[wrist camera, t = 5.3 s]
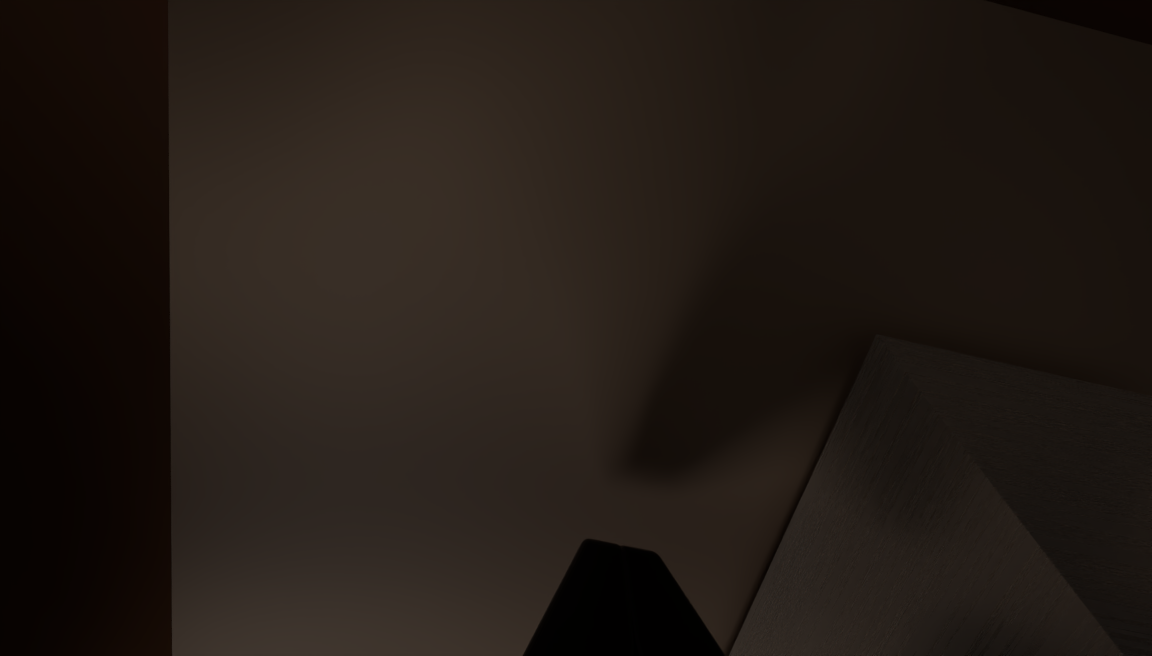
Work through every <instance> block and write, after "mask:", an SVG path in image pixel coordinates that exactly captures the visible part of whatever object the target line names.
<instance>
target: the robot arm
mask: <svg viewBox="0 0 1152 656" xmlns="http://www.w3.org/2000/svg"><path fill="white" fill-rule="evenodd" d="M523 656H726V655H725V654H724V652H723V651H722V649H721V648H720V646H719V645H718V643H717V642H716V640H715V639H714V637H713V636H712V634H711V633H710V631H709V630H708V628H707V627H706V625H705V624H704V622H703V621H702V619H701V618H700V616H699V615H698V613H697V612H696V610H695V608H694V607H693V605H692V604H691V602H690V601H689V599H688V598H687V596H686V595H685V593H684V592H683V590H682V589H681V587H680V586H679V584H678V583H677V581H676V580H675V578H674V577H673V575H672V574H671V572H670V571H669V569H668V568H667V566H666V564H665V563H664V561H663V560H662V558H661V557H660V556H659V555H658V554H657V553H656V552H654V551H651V550H646V549H641V548H636V547H631V546H626V545H622V546H620V545H618V544H616V543H610V542H605V541H600V540H595V539H590V538H587V539H585V540H584V541H582V543H581V545H580V547H579V548H578V550H577V552H576V554H575V556H574V558H573V560H572V562H571V564H570V566H569V568H568V569H567V571H566V573H565V575H564V577H563V579H562V581H561V583H560V585H559V587H558V589H557V591H556V592H555V594H554V596H553V598H552V600H551V602H550V604H549V606H548V608H547V610H546V612H545V613H544V615H543V617H542V619H541V621H540V623H539V625H538V627H537V629H536V631H535V633H534V635H533V636H532V638H531V640H530V642H529V644H528V646H527V648H526V650H525V652H524V654H523Z"/></svg>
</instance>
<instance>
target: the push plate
mask: <svg viewBox="0 0 1152 656" xmlns="http://www.w3.org/2000/svg"><path fill="white" fill-rule="evenodd" d="M729 656H1152V397H1151V396H1147V395H1143V394H1138V393H1134V392H1129V391H1125V390H1121V389H1116V388H1112V387H1107V386H1103V385H1098V384H1094V383H1090V382H1085V381H1081V380H1076V379H1072V378H1068V377H1063V376H1059V375H1054V374H1050V373H1046V372H1041V371H1037V370H1032V369H1028V368H1024V367H1019V366H1015V365H1010V364H1006V363H1002V362H997V361H993V360H988V359H984V358H980V357H975V356H971V355H966V354H962V353H958V352H953V351H949V350H944V349H940V348H936V347H931V346H927V345H922V344H918V343H913V342H909V341H905V340H900V339H896V338H891V337H887V336H883V335H878V334H876V336H875V338H874V340H873V342H872V345H871V347H870V349H869V351H868V353H867V356H866V358H865V360H864V362H863V364H862V366H861V369H860V371H859V373H858V375H857V377H856V379H855V382H854V384H853V386H852V388H851V390H850V393H849V395H848V397H847V399H846V401H845V403H844V406H843V408H842V410H841V412H840V414H839V416H838V419H837V421H836V423H835V425H834V427H833V430H832V432H831V434H830V436H829V438H828V440H827V443H826V445H825V447H824V449H823V451H822V454H821V456H820V458H819V460H818V462H817V464H816V467H815V469H814V471H813V473H812V475H811V477H810V480H809V482H808V484H807V486H806V488H805V491H804V493H803V495H802V497H801V499H800V501H799V504H798V506H797V508H796V510H795V512H794V515H793V517H792V519H791V521H790V523H789V525H788V528H787V530H786V532H785V534H784V536H783V538H782V541H781V543H780V545H779V547H778V549H777V552H776V554H775V556H774V558H773V560H772V562H771V565H770V567H769V569H768V571H767V573H766V576H765V578H764V580H763V582H762V584H761V586H760V589H759V591H758V593H757V595H756V597H755V599H754V602H753V604H752V606H751V608H750V610H749V613H748V615H747V617H746V619H745V621H744V623H743V626H742V628H741V630H740V632H739V634H738V636H737V639H736V641H735V643H734V645H733V647H732V650H731V652H730V654H729Z"/></svg>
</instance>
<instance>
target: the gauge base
mask: <svg viewBox="0 0 1152 656" xmlns="http://www.w3.org/2000/svg"><path fill="white" fill-rule="evenodd" d="M168 67H169V227H170V386H171V546H172V656H523V654H524V652H525V650H526V648H527V646H528V644H529V642H530V640H531V638H532V636H533V635H534V633H535V631H536V629H537V627H538V625H539V623H540V621H541V619H542V617H543V615H544V613H545V612H546V610H547V608H548V606H549V604H550V602H551V600H552V598H553V596H554V594H555V592H556V591H557V589H558V587H559V585H560V583H561V581H562V579H563V577H564V575H565V573H566V571H567V569H568V568H569V566H570V564H571V562H572V560H573V558H574V556H575V554H576V552H577V550H578V548H579V547H580V545H581V543H582V541H584V540H585V539H587V538H590V539H595V540H600V541H605V542H610V543H616V544H618V545H620V546H622V545H626V546H631V547H636V548H641V549H646V550H651V551H654V552H656V553H657V554H658V555H659V556H660V557H661V558H662V560H663V561H664V563H665V564H666V566H667V568H668V569H669V571H670V572H671V574H672V575H673V577H674V578H675V580H676V581H677V583H678V584H679V586H680V587H681V589H682V590H683V592H684V593H685V595H686V596H687V598H688V599H689V601H690V602H691V604H692V605H693V607H694V608H695V610H696V612H697V613H698V615H699V616H700V618H701V619H702V621H703V622H704V624H705V625H706V627H707V628H708V630H709V631H710V633H711V634H712V636H713V637H714V639H715V640H716V642H717V643H718V645H719V646H720V648H721V649H722V651H723V652H724V654H725V655H726V656H729V654H730V652H731V650H732V647H733V645H734V643H735V641H736V639H737V636H738V634H739V632H740V630H741V628H742V626H743V623H744V621H745V619H746V617H747V615H748V613H749V610H750V608H751V606H752V604H753V602H754V599H755V597H756V595H757V593H758V591H759V589H760V586H761V584H762V582H763V580H764V578H765V576H766V573H767V571H768V569H769V567H770V565H771V562H772V560H773V558H774V556H775V554H776V552H777V549H778V547H779V545H780V543H781V541H782V538H783V536H784V534H785V532H786V530H787V528H788V525H789V523H790V521H791V519H792V517H793V515H794V512H795V510H796V508H797V506H798V504H799V501H800V499H801V497H802V495H803V493H804V491H805V488H806V486H807V484H808V482H809V480H810V477H811V475H812V473H813V471H814V469H815V467H816V464H817V462H818V460H819V458H820V456H821V454H822V451H823V449H824V447H825V445H826V443H827V440H828V438H829V436H830V434H831V432H832V430H833V427H834V425H835V423H836V421H837V419H838V416H839V414H840V412H841V410H842V408H843V406H844V403H845V401H846V399H847V397H848V395H849V393H850V390H851V388H852V386H853V384H854V382H855V379H856V377H857V375H858V373H859V371H860V369H861V366H862V364H863V362H864V360H865V358H866V356H867V353H868V351H869V349H870V347H871V345H872V342H873V340H874V338H875V336H876V334H878V335H883V336H887V337H891V338H896V339H900V340H905V341H909V342H913V343H918V344H922V345H927V346H931V347H936V348H940V349H944V350H949V351H953V352H958V353H962V354H966V355H971V356H975V357H980V358H984V359H988V360H993V361H997V362H1002V363H1006V364H1010V365H1015V366H1019V367H1024V368H1028V369H1032V370H1037V371H1041V372H1046V373H1050V374H1054V375H1059V376H1063V377H1068V378H1072V379H1076V380H1081V381H1085V382H1090V383H1094V384H1098V385H1103V386H1107V387H1112V388H1116V389H1121V390H1125V391H1129V392H1134V393H1138V394H1143V395H1147V396H1151V397H1152V45H1150V44H1146V43H1143V42H1139V41H1135V40H1131V39H1128V38H1124V37H1120V36H1116V35H1113V34H1109V33H1105V32H1101V31H1098V30H1094V29H1090V28H1087V27H1083V26H1079V25H1075V24H1072V23H1068V22H1064V21H1060V20H1057V19H1053V18H1049V17H1046V16H1042V15H1038V14H1034V13H1031V12H1027V11H1023V10H1019V9H1016V8H1012V7H1008V6H1004V5H1001V4H997V3H993V2H990V1H986V0H168Z"/></svg>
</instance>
